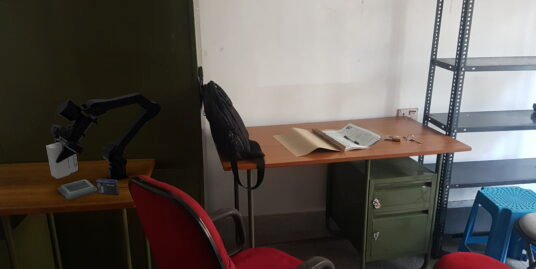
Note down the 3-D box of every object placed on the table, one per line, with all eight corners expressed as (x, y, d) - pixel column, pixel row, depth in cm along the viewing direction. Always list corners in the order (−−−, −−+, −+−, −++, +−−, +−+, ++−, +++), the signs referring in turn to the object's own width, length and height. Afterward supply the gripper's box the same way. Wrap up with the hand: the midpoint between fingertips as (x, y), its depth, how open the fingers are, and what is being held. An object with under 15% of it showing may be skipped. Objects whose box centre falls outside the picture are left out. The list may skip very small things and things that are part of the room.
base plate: (87, 181, 181) (87, 177, 181) (98, 191, 173) (98, 186, 172) (57, 189, 174) (57, 185, 173) (67, 200, 165) (66, 195, 165)
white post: (63, 171, 173) (58, 142, 169) (69, 174, 170) (64, 144, 166) (51, 175, 169) (45, 145, 165) (57, 178, 166) (51, 148, 162)
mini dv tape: (97, 193, 171) (96, 179, 169) (100, 192, 172) (98, 178, 170) (117, 195, 170) (115, 181, 168) (119, 193, 171) (117, 180, 169)
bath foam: (74, 166, 197) (69, 124, 191) (80, 171, 192) (75, 128, 186) (59, 170, 192) (52, 127, 186) (64, 175, 188) (58, 131, 181)
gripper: (54, 111, 171) (28, 144, 168) (70, 121, 158) (43, 157, 155) (77, 126, 179) (53, 157, 175) (94, 137, 166) (69, 171, 162)
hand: (54, 160), depth 167 cm, fingers closed on white post, 5 cm apart
